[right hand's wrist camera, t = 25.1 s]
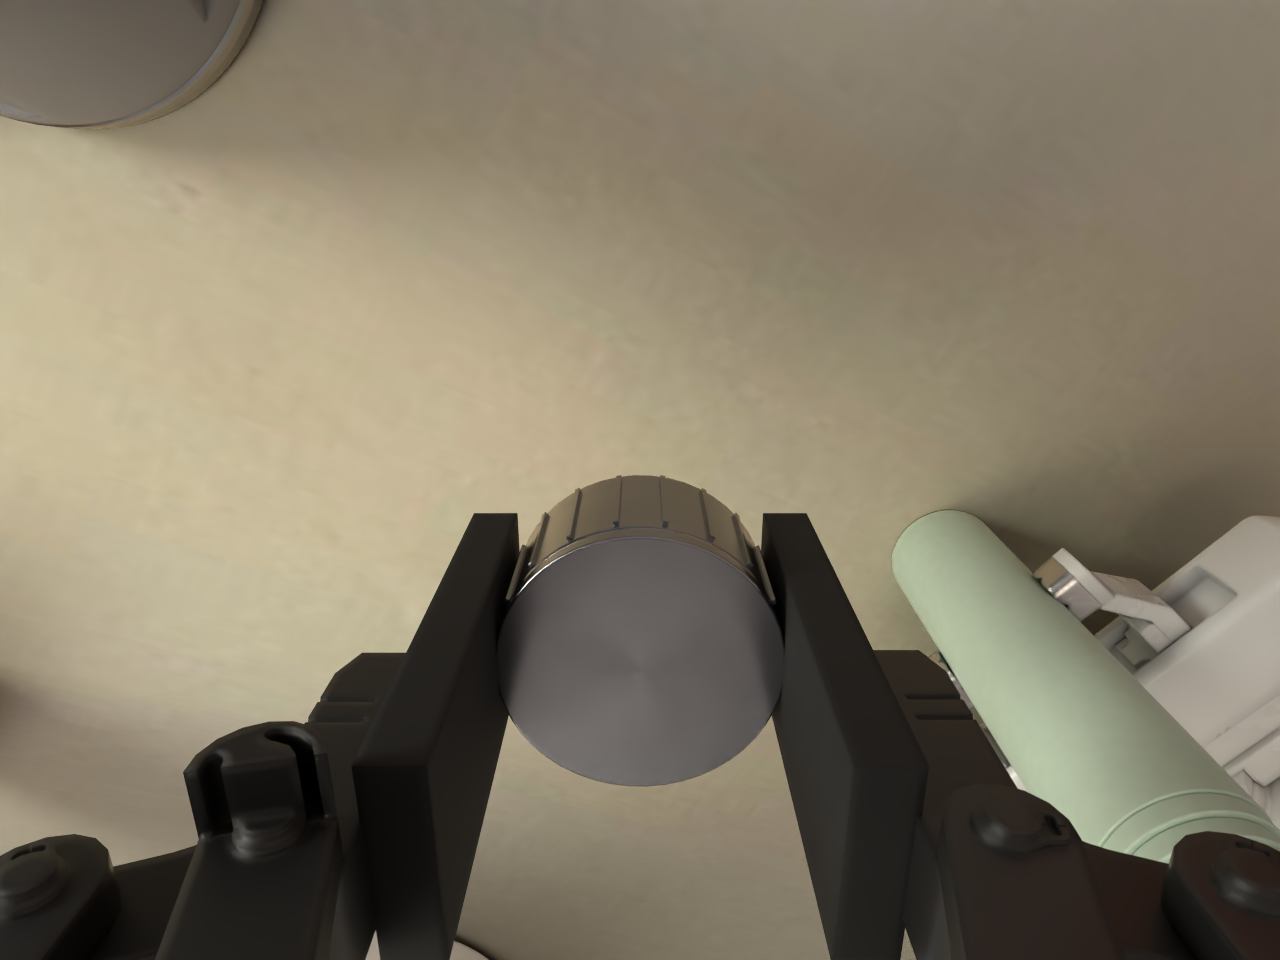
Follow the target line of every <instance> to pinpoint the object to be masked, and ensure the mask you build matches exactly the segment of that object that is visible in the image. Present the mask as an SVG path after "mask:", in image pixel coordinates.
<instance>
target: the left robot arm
mask: <svg viewBox="0 0 1280 960" xmlns="http://www.w3.org/2000/svg"><path fill="white" fill-rule="evenodd" d="M1032 575H1033V576H1034V577H1035V578H1036V579H1037V580H1038V581H1039V582H1040V583H1041V584H1042V585H1043V586H1044V587H1045V588H1046V589H1047V590H1048V591H1049V592H1050V593H1051V594H1052V595H1053V596H1054V597H1055V598H1056V599H1057V600H1058V601H1059V602H1060V603H1062V604H1063V605H1064V606H1065V607H1066V608H1067V609H1068V610H1069V611H1070V612H1071V613H1072V614H1073V615H1074V616H1075V617H1076V618H1077V619H1078V620H1079V621H1080V622H1081V621H1083V620H1084V619H1085V618H1087V617H1088V616H1089V615H1091V614H1092V613H1094V612H1095V611H1096V610H1098V609H1101V610H1105V611H1110V612H1114V613H1117V614H1118V615H1119V616H1118V617H1117V618H1116V619H1115V620H1113V621H1112V622H1111V623H1109V624H1108V625H1107V626H1105V627H1104V628H1103V629H1102V630H1100V631H1099V632H1098V633H1096V634H1095V635H1094V637H1095V638H1096V639H1097V640H1098V641H1099V642H1100V643H1101V644H1102V645H1103V646H1104V647H1105V648H1106V649H1107V650H1108V651H1109V652H1110V653H1111V654H1112V655H1113V656H1114V657H1115V658H1116V659H1117V660H1118V661H1119V662H1120V663H1121V664H1122V665H1123V666H1124V667H1125V668H1126V669H1127V670H1128V671H1129V672H1130V673H1131V674H1132V675H1133V677H1134V678H1135V679H1136V680H1137V681H1138V682H1139V683H1140V684H1141V685H1142V686H1143V687H1144V688H1145V689H1146V690H1147V691H1148V692H1149V693H1150V694H1151V695H1152V696H1153V697H1154V698H1155V699H1156V700H1157V701H1158V702H1159V703H1160V704H1161V705H1162V706H1163V707H1164V708H1165V709H1166V710H1167V711H1168V712H1169V713H1170V714H1171V715H1172V716H1173V718H1174V719H1175V720H1176V721H1177V722H1178V723H1179V724H1180V725H1181V726H1182V727H1183V728H1184V729H1185V730H1186V731H1187V732H1188V733H1189V734H1190V735H1191V736H1192V737H1193V738H1194V739H1195V740H1196V741H1197V742H1198V743H1199V744H1200V745H1201V746H1202V747H1203V748H1204V749H1205V750H1206V751H1207V752H1208V753H1209V754H1210V755H1211V756H1212V757H1213V759H1214V760H1215V761H1216V762H1217V763H1218V764H1219V765H1220V766H1221V767H1222V768H1223V769H1224V770H1225V771H1226V772H1227V773H1228V774H1229V775H1230V776H1231V777H1232V778H1233V779H1234V780H1235V781H1236V782H1237V783H1238V784H1239V785H1240V786H1241V787H1242V788H1243V789H1244V790H1245V791H1246V792H1247V793H1248V794H1249V795H1250V796H1251V797H1252V798H1253V800H1254V801H1255V802H1256V803H1257V804H1258V805H1259V806H1260V807H1261V808H1262V809H1263V810H1264V811H1265V812H1266V813H1267V814H1268V816H1269V817H1270V819H1271V820H1272V823H1273V824H1274V825H1275V826H1276V827H1277V828H1278V829H1279V830H1280V517H1275V516H1263V515H1254V516H1250V517H1248V518H1246V519H1244V520H1242V521H1241V522H1240V523H1238V524H1237V525H1236V526H1234V527H1233V528H1232V529H1230V530H1229V531H1228V532H1227V533H1225V534H1224V535H1223V536H1221V537H1220V538H1219V539H1218V540H1216V541H1215V542H1214V543H1212V544H1211V545H1210V546H1209V547H1207V548H1206V549H1205V550H1204V551H1202V552H1201V553H1200V554H1198V555H1197V556H1196V557H1195V558H1193V559H1192V560H1191V561H1189V562H1188V563H1187V564H1186V565H1184V566H1183V567H1182V568H1180V569H1179V570H1178V571H1176V572H1175V573H1174V574H1173V575H1171V576H1170V577H1169V578H1167V579H1166V580H1165V581H1164V582H1162V583H1161V584H1160V585H1158V586H1157V587H1156V588H1155V589H1153V590H1152V591H1150V590H1149V589H1148V588H1147V587H1146V586H1144V585H1143V584H1142V583H1141V582H1139V581H1138V580H1136V579H1130V578H1125V577H1120V576H1114V575H1109V574H1104V573H1098V572H1093V571H1091V572H1090V571H1089V570H1088V569H1086V568H1085V567H1084V566H1083V565H1082V564H1081V563H1080V562H1079V561H1078V560H1077V559H1076V558H1074V557H1073V556H1072V555H1071V554H1070V553H1069V552H1068V551H1066V550H1065V549H1064V548H1062V549H1060V550H1059V551H1058V552H1057V553H1055V554H1054V555H1053V556H1052V557H1051V558H1050V559H1048V560H1047V561H1046V562H1045V563H1044V564H1042V565H1041V566H1040V567H1039V568H1038V569H1037V570H1035V571H1034V572H1033V573H1032ZM928 658H929V659H931V660H932V661H933V662H935V663H936V664H937V665H939V666H940V667H941V668H943V669H944V670H945V671H946V672H947V674H948V675H949V677H950V679H951V680H952V682H953V683H954V685H955V687H956V688H957V690H958V692H959V693H960V698H961V700H964V701H965V703H966V705H967V706H968V708H969V710H970V709H971V708H972V707H973V706H974V705H973V703H972V702H971V700H970V698H969V697H968V695H967V694H966V692H965V690H964V689H963V687H962V686H961V684H960V682H959V681H958V679H957V678H956V676H955V674H954V673H953V671H952V670H951V668H950V666H949V665H948V663H947V662H946V660H945V658H944V657H943V655H942V654H941V653H940V652H939V651H936V652H935V653H933V654H932V655H931V656H929V657H928ZM979 726H980V728H981V729H982V731H983V732H984V734H985V736H986V737H987V739H988V741H989V742H990V744H991V745H992V747H993V749H994V750H995V752H996V754H997V755H998V757H999V759H1000V760H1001V762H1002V763H1003V765H1004V767H1005V768H1006V770H1007V772H1008V773H1009V775H1010V776H1011V778H1012V780H1013V781H1014V783H1015V785H1016V786H1017V788H1018V789H1021V790H1024V791H1027V790H1026V788H1025V787H1024V785H1023V783H1022V782H1021V780H1020V779H1019V777H1018V775H1017V774H1016V772H1015V771H1014V769H1013V767H1012V766H1011V764H1010V763H1009V761H1008V759H1007V758H1006V756H1005V755H1004V753H1003V751H1002V750H1001V748H1000V747H999V745H998V743H997V742H996V740H995V739H994V737H993V735H992V734H991V732H990V731H989V729H988V727H987V726H986V724H985V722H984V721H983V722H982V723H980V724H979ZM1027 792H1028V791H1027ZM365 960H380V954H379V947H378V941H377V934H376V931H375V933H374V936H373V939H372V942H371V945H370V948H369V951H368V954H367V956H366V959H365ZM450 960H489V959H487V958H486V957H485V956H483V955H482V954H480V953H478V952H477V951H475V950H473V949H471V948H469V947H467V946H465V945H463V944H461V943H459V942H456V941H454V944H453V948H452V952H451V956H450Z"/></svg>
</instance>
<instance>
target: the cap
mask: <svg viewBox="0 0 1280 960" xmlns="http://www.w3.org/2000/svg"><path fill="white" fill-rule="evenodd" d="M504 603H506V604H507V605H506V608H505V612H504V615H503V618H502V621H501V624H500V628H499V632H498V636H497V640H496V660H497V674H498V687H499V693H500V696H501V698H502V701H503V704H504V706H505V708H506V710H507V712H508V714H509V716H510V718H511V719H512V721H513V722H514V724H515V725H516V727H517V728H518V729H519V731H520V732H521V734H522V735H523V736H524V737H525V738H526V739H527V740H528V741H529V742H530V743H531V744H532V745H533V746H534V747H535V748H536V749H537V750H539V751H540V752H541V753H542V754H543V755H545V756H546V757H547V758H549V759H550V760H552V761H554V762H555V763H557V764H558V765H560V766H562V767H564V768H566V769H568V770H570V771H572V772H574V773H576V774H578V775H581V776H584V777H587V778H590V779H593V780H596V781H601V782H605V783H609V784H616V785H624V786H656V785H666V784H671V783H676V782H681V781H684V780H688V779H691V778H694V777H697V776H700V775H702V774H704V773H707V772H709V771H711V770H713V769H715V768H717V767H719V766H721V765H722V764H724V763H726V762H727V761H729V760H731V759H732V758H733V757H735V756H736V755H737V754H738V753H740V752H741V751H742V750H744V749H745V748H746V747H747V746H748V745H749V744H750V743H751V742H752V741H753V740H754V739H755V738H756V737H757V735H758V734H759V733H760V732H761V730H762V729H763V728H764V726H765V725H766V724H767V722H768V720H769V719H770V717H771V715H772V713H773V712H774V710H775V707H776V705H777V703H778V700H779V698H780V695H781V691H782V682H783V669H784V653H785V643H784V638H783V634H782V629H781V626H780V623H779V620H778V616H777V613H776V610H775V606H774V604H777V601H776V598H775V595H774V591H773V588H772V585H771V582H770V579H769V576H768V572H767V569H766V566H765V563H764V560H763V557H762V553H761V550H760V547H759V545H758V546H755V544H754V542H753V540H752V538H751V537H750V535H749V533H748V531H747V530H746V528H745V527H744V526H743V524H742V523H741V521H740V518H739V515H738V514H737V513H735V514H733V513H732V512H731V511H730V510H729V509H728V508H727V507H726V506H725V505H724V504H722V503H721V502H720V501H718V500H717V499H716V498H714V497H713V496H711V495H709V494H708V493H707V492H706V490H705V489H703V488H702V489H699V488H696V487H694V486H691V485H689V484H687V483H684V482H680V481H677V480H674V479H669V478H665V476H660V477H657V476H637V475H634V476H624V477H621V475H620V476H616V478H612V479H608V480H603V481H600V482H597V483H594V484H592V485H589V486H586V487H584V488H582V489H580V488H578V489H576V490H575V493H573V494H571V495H570V496H568V497H567V498H565V499H564V500H562V501H561V502H560V503H558V504H557V505H556V506H555V507H554V508H553V509H552V510H550V511H549V512H548V513H546V512H545V513H544V514H543V515H542V518H541V521H540V523H539V524H538V525H537V526H536V528H535V530H534V531H533V533H532V535H531V536H530V538H529V540H528V542H527V544H526V546H525V545H522V547H521V550H520V553H519V556H518V559H517V562H516V565H515V569H514V572H513V575H512V578H511V581H510V584H509V587H508V590H507V594H506V597H505V600H504Z"/></svg>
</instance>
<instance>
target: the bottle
mask: <svg viewBox="0 0 1280 960" xmlns="http://www.w3.org/2000/svg"><path fill="white" fill-rule="evenodd" d="M892 570H893V574H894V577H895V579H896V581H897V583H898V585H899V586H900V588H901V590H902V591H903V593H904V594H905V596H906V598H907V599H908V601H909V602H910V604H911V606H912V607H913V609H914V610H915V612H916V614H917V615H918V617H919V618H920V620H921V622H922V623H923V625H924V626H925V628H926V630H927V631H928V633H929V634H930V636H931V638H932V639H933V641H934V642H935V644H936V646H937V647H938V649H939V650H940V652H941V654H942V655H943V657H944V658H945V660H946V662H947V663H948V665H949V666H950V668H951V670H952V671H953V673H954V674H955V676H956V678H957V679H958V681H959V682H960V684H961V686H962V687H963V689H964V690H965V692H966V694H967V695H968V697H969V698H970V700H971V702H972V703H973V705H974V706H975V708H976V710H977V711H978V713H979V714H980V716H981V718H982V719H983V721H984V722H985V724H986V726H987V727H988V729H989V731H990V732H991V734H992V735H993V737H994V739H995V740H996V742H997V743H998V745H999V747H1000V748H1001V750H1002V751H1003V753H1004V755H1005V756H1006V758H1007V759H1008V761H1009V763H1010V764H1011V766H1012V767H1013V769H1014V771H1015V772H1016V774H1017V775H1018V777H1019V779H1020V780H1021V782H1022V783H1023V785H1024V787H1025V788H1026V790H1027V791H1028V792H1029V793H1031V794H1033V795H1035V796H1036V797H1038V798H1040V799H1042V800H1044V801H1046V802H1048V803H1050V804H1051V805H1052V806H1054V807H1055V808H1056V809H1057V810H1058V811H1059V812H1061V813H1062V814H1063V815H1064V816H1065V817H1067V818H1068V819H1069V820H1070V822H1071V823H1072V825H1073V827H1074V828H1075V830H1076V831H1077V833H1078V834H1079V836H1080V838H1081V840H1082V841H1084V842H1086V843H1089V844H1092V845H1096V846H1099V847H1102V848H1105V849H1109V850H1113V851H1117V852H1121V853H1125V854H1130V855H1134V856H1138V857H1142V858H1147V859H1151V860H1155V861H1159V862H1164V863H1168V864H1169V861H1170V858H1171V854H1172V851H1173V847H1174V846H1175V845H1176V844H1177V843H1178V842H1179V841H1180V840H1181V839H1182V838H1183V837H1184V836H1185V835H1188V834H1194V833H1199V832H1204V831H1213V832H1221V833H1230V834H1236V835H1239V836H1242V837H1245V838H1248V839H1251V840H1254V841H1257V842H1260V843H1263V844H1266V845H1268V846H1270V847H1272V848H1274V849H1276V850H1278V851H1279V852H1280V830H1279V829H1278V828H1277V827H1276V826H1275V825H1274V824H1273V823H1272V820H1271V819H1270V817H1269V816H1268V814H1267V813H1266V812H1265V811H1264V810H1263V809H1262V808H1261V807H1260V806H1259V805H1258V804H1257V803H1256V802H1255V801H1254V800H1253V798H1252V797H1251V796H1250V795H1249V794H1248V793H1247V792H1246V791H1245V790H1244V789H1243V788H1242V787H1241V786H1240V785H1239V784H1238V783H1237V782H1236V781H1235V780H1234V779H1233V778H1232V777H1231V776H1230V775H1229V774H1228V773H1227V772H1226V771H1225V770H1224V769H1223V768H1222V767H1221V766H1220V765H1219V764H1218V763H1217V762H1216V761H1215V760H1214V759H1213V757H1212V756H1211V755H1210V754H1209V753H1208V752H1207V751H1206V750H1205V749H1204V748H1203V747H1202V746H1201V745H1200V744H1199V743H1198V742H1197V741H1196V740H1195V739H1194V738H1193V737H1192V736H1191V735H1190V734H1189V733H1188V732H1187V731H1186V730H1185V729H1184V728H1183V727H1182V726H1181V725H1180V724H1179V723H1178V722H1177V721H1176V720H1175V719H1174V718H1173V716H1172V715H1171V714H1170V713H1169V712H1168V711H1167V710H1166V709H1165V708H1164V707H1163V706H1162V705H1161V704H1160V703H1159V702H1158V701H1157V700H1156V699H1155V698H1154V697H1153V696H1152V695H1151V694H1150V693H1149V692H1148V691H1147V690H1146V689H1145V688H1144V687H1143V686H1142V685H1141V684H1140V683H1139V682H1138V681H1137V680H1136V679H1135V678H1134V677H1133V675H1132V674H1131V673H1130V672H1129V671H1128V670H1127V669H1126V668H1125V667H1124V666H1123V665H1122V664H1121V663H1120V662H1119V661H1118V660H1117V659H1116V658H1115V657H1114V656H1113V655H1112V654H1111V653H1110V652H1109V651H1108V650H1107V649H1106V648H1105V647H1104V646H1103V645H1102V644H1101V643H1100V642H1099V641H1098V640H1097V639H1096V638H1095V637H1094V636H1093V634H1092V633H1091V632H1090V631H1089V630H1088V629H1087V628H1086V627H1085V626H1084V625H1083V624H1082V623H1081V622H1080V621H1079V620H1078V619H1077V618H1076V617H1075V616H1074V615H1073V614H1072V613H1071V612H1070V611H1069V610H1068V609H1067V608H1066V607H1065V606H1064V605H1063V604H1062V603H1060V602H1059V601H1058V600H1057V599H1056V598H1055V597H1054V596H1053V595H1052V594H1051V593H1050V592H1049V591H1048V590H1047V589H1046V588H1045V587H1044V586H1043V585H1042V584H1041V583H1040V582H1039V581H1038V580H1037V579H1036V578H1035V577H1034V576H1033V575H1032V572H1031V571H1030V570H1029V569H1028V568H1027V567H1026V566H1025V565H1024V564H1023V563H1022V562H1021V561H1020V560H1019V559H1018V558H1017V557H1016V556H1015V555H1014V554H1013V552H1012V551H1011V550H1010V549H1009V548H1008V547H1007V546H1006V545H1005V544H1004V543H1003V542H1002V541H1001V540H1000V539H999V538H998V537H997V536H996V535H995V534H994V533H993V532H992V531H991V530H990V529H989V528H988V527H987V526H986V525H985V524H984V523H983V522H982V521H981V520H980V519H978V518H977V517H975V516H973V515H971V514H968V513H966V512H962V511H955V510H944V511H938V512H934V513H931V514H928V515H925V516H923V517H921V518H920V519H918V520H916V521H915V522H913V523H912V524H911V525H910V526H909V527H908V528H907V529H906V530H905V531H904V532H903V533H902V535H901V536H900V537H899V539H898V541H897V543H896V545H895V548H894V551H893V555H892Z"/></svg>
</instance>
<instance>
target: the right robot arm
mask: <svg viewBox="0 0 1280 960" xmlns="http://www.w3.org/2000/svg"><path fill="white" fill-rule="evenodd" d="M262 2H263V0H0V115H1V116H4V117H8V118H11V119H14V120H18V121H23V122H28V123H33V124H37V125H46V126H55V127H67V128H80V129H109V128H118V127H127V126H131V125H135V124H140V123H144V122H147V121H150V120H153V119H156V118H159V117H162V116H164V115H166V114H168V113H170V112H172V111H174V110H176V109H178V108H180V107H182V106H184V105H185V104H187V103H188V102H190V101H191V100H193V99H194V98H196V97H197V96H199V95H200V94H201V93H202V92H203V91H205V90H206V89H207V88H208V87H209V86H211V85H212V84H213V83H214V82H215V81H216V80H217V79H218V78H219V76H220V75H221V74H222V73H223V72H224V71H225V70H226V69H227V68H228V66H229V65H230V64H231V62H232V61H233V60H234V58H235V57H236V56H237V54H238V53H239V51H240V50H241V48H242V46H243V44H244V43H245V41H246V39H247V38H248V36H249V34H250V32H251V30H252V27H253V25H254V23H255V21H256V18H257V16H258V14H259V11H260V8H261V5H262ZM519 553H520V552H519V534H518V517H517V513H474V515H473V517H472V519H471V521H470V523H469V525H468V527H467V529H466V531H465V533H464V535H463V537H462V539H461V541H460V543H459V546H458V548H457V550H456V552H455V554H454V556H453V558H452V560H451V562H450V564H449V566H448V568H447V570H446V572H445V574H444V576H443V578H442V580H441V583H440V585H439V587H438V589H437V591H436V593H435V595H434V597H433V599H432V601H431V603H430V605H429V607H428V609H427V611H426V613H425V615H424V617H423V620H422V622H421V624H420V626H419V628H418V630H417V632H416V634H415V636H414V638H413V640H412V642H411V644H410V646H409V648H408V650H407V652H406V653H361V654H360V655H359V656H357V657H356V658H355V659H353V660H352V661H351V662H350V663H348V664H347V665H346V666H344V667H343V668H342V669H340V670H339V671H338V672H336V673H335V675H334V676H333V678H332V679H331V681H330V683H329V684H328V686H327V688H326V689H325V691H324V693H323V694H322V696H321V700H320V702H317V704H316V706H315V707H314V709H313V711H312V712H311V714H310V716H309V717H308V719H309V720H308V722H305V724H301V723H298V722H294V721H285V722H266V723H262V724H257V725H253V726H249V727H244V728H241V729H239V730H237V731H235V732H232V733H230V734H228V735H226V736H223V737H221V738H219V739H217V740H215V741H214V742H213V743H211V744H210V745H209V746H207V747H206V748H205V749H203V750H202V751H201V752H199V753H198V754H197V755H196V756H195V757H194V758H193V760H192V761H191V762H190V764H189V765H188V767H187V768H186V769H185V771H184V772H183V774H184V778H185V782H186V786H187V791H188V795H189V799H190V803H191V807H192V812H193V816H194V820H195V824H196V828H197V833H198V837H199V841H198V844H197V845H195V846H193V847H189V848H186V849H183V850H180V851H176V852H173V853H169V854H165V855H161V856H157V857H152V858H148V859H144V860H140V861H136V862H131V863H127V864H123V865H119V866H114V867H113V866H112V862H111V859H110V855H109V852H108V849H107V848H106V847H105V846H103V845H102V844H101V843H100V842H99V841H98V840H97V839H96V838H92V837H86V836H81V835H76V834H72V835H63V836H55V837H46V838H43V839H40V840H38V841H35V842H32V843H29V844H26V845H23V846H20V847H17V848H14V849H12V850H11V851H9V852H7V853H5V854H3V855H1V856H0V960H365V959H366V956H367V954H368V951H369V948H370V945H371V942H372V939H373V936H374V933H375V931H376V934H377V941H378V947H379V954H380V960H450V956H451V952H452V948H453V944H454V939H455V935H456V931H457V927H458V923H459V919H460V915H461V910H462V906H463V902H464V898H465V894H466V890H467V886H468V881H469V877H470V873H471V869H472V865H473V861H474V857H475V852H476V848H477V844H478V840H479V836H480V832H481V828H482V824H483V819H484V815H485V811H486V807H487V803H488V799H489V795H490V790H491V786H492V782H493V778H494V774H495V770H496V766H497V761H498V757H499V753H500V749H501V745H502V741H503V737H504V732H505V728H506V724H507V720H508V716H509V714H508V712H507V710H506V708H505V706H504V704H503V701H502V698H501V696H500V693H499V687H498V674H497V660H496V640H497V636H498V632H499V628H500V624H501V621H502V618H503V615H504V612H505V608H506V605H507V604H506V603H504V600H505V597H506V594H507V590H508V587H509V584H510V581H511V578H512V575H513V572H514V569H515V565H516V562H517V559H518V556H519ZM761 553H762V557H763V560H764V563H765V566H766V569H767V572H768V576H769V579H770V582H771V585H772V588H773V591H774V595H775V598H776V601H777V604H774V606H775V610H776V613H777V616H778V620H779V623H780V626H781V629H782V634H783V638H784V643H785V653H784V669H783V682H782V691H781V695H780V698H779V700H778V703H777V705H776V707H775V710H774V712H773V713H772V718H773V722H774V726H775V730H776V734H777V739H778V743H779V747H780V751H781V755H782V759H783V763H784V768H785V772H786V776H787V780H788V784H789V788H790V792H791V796H792V801H793V805H794V809H795V813H796V817H797V821H798V825H799V830H800V834H801V838H802V842H803V846H804V850H805V854H806V859H807V863H808V867H809V871H810V875H811V879H812V883H813V887H814V892H815V896H816V900H817V904H818V908H819V912H820V916H821V921H822V925H823V929H824V933H825V937H826V941H827V945H828V950H829V954H830V958H831V960H900V958H901V951H902V944H903V938H904V931H905V928H906V931H907V934H908V936H909V939H910V942H911V945H912V948H913V951H914V954H915V956H916V959H917V960H1280V852H1279V851H1278V850H1276V849H1274V848H1272V847H1270V846H1268V845H1266V844H1263V843H1260V842H1257V841H1254V840H1251V839H1248V838H1245V837H1242V836H1239V835H1236V834H1230V833H1221V832H1213V831H1204V832H1199V833H1194V834H1188V835H1185V836H1184V837H1183V838H1182V839H1181V840H1180V841H1179V842H1178V843H1177V844H1176V845H1175V846H1174V847H1173V851H1172V854H1171V858H1170V861H1169V864H1168V863H1164V862H1159V861H1155V860H1151V859H1147V858H1142V857H1138V856H1134V855H1130V854H1125V853H1121V852H1117V851H1113V850H1109V849H1105V848H1102V847H1099V846H1096V845H1092V844H1089V843H1086V842H1084V841H1082V840H1081V838H1080V836H1079V834H1078V833H1077V831H1076V830H1075V828H1074V827H1073V825H1072V823H1071V822H1070V820H1069V819H1068V818H1067V817H1065V816H1064V815H1063V814H1062V813H1061V812H1059V811H1058V810H1057V809H1056V808H1055V807H1054V806H1052V805H1051V804H1050V803H1048V802H1046V801H1044V800H1042V799H1040V798H1038V797H1036V796H1035V795H1033V794H1031V793H1029V792H1027V791H1024V790H1021V789H1018V788H1017V786H1016V785H1015V783H1014V781H1013V780H1012V778H1011V776H1010V775H1009V773H1008V772H1007V770H1006V768H1005V767H1004V765H1003V763H1002V762H1001V760H1000V759H999V757H998V755H997V754H996V752H995V750H994V749H993V747H992V745H991V744H990V742H989V741H988V739H987V737H986V736H985V734H984V732H983V731H982V729H981V728H980V726H979V724H978V723H977V721H976V720H973V714H972V713H971V711H970V710H969V708H968V706H967V705H966V703H965V701H964V700H961V698H960V693H959V692H958V690H957V688H956V687H955V685H954V683H953V682H952V680H951V679H950V677H949V675H948V674H947V672H946V671H945V670H944V669H943V668H941V667H940V666H939V665H937V664H936V663H935V662H933V661H932V660H931V659H929V658H928V657H927V656H926V655H924V654H923V653H922V652H920V651H919V650H873V649H872V647H871V645H870V643H869V641H868V639H867V637H866V635H865V633H864V631H863V629H862V627H861V625H860V622H859V620H858V618H857V616H856V614H855V612H854V610H853V608H852V606H851V604H850V602H849V600H848V598H847V596H846V594H845V592H844V590H843V588H842V585H841V583H840V581H839V579H838V577H837V575H836V573H835V571H834V569H833V567H832V565H831V563H830V561H829V559H828V557H827V555H826V553H825V551H824V548H823V546H822V544H821V542H820V540H819V538H818V536H817V534H816V532H815V530H814V528H813V526H812V524H811V522H810V520H809V518H808V516H807V514H806V513H763V526H762V544H761Z"/></svg>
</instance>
